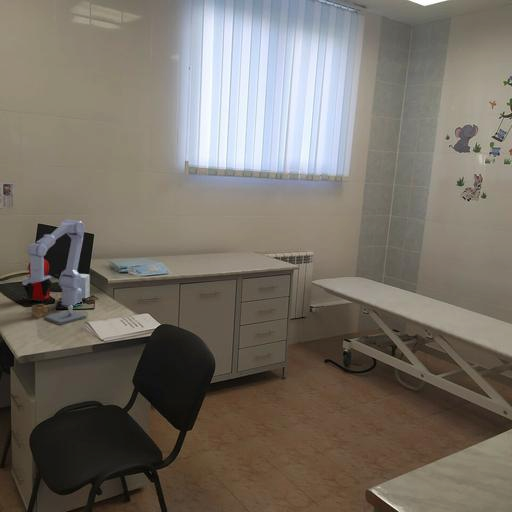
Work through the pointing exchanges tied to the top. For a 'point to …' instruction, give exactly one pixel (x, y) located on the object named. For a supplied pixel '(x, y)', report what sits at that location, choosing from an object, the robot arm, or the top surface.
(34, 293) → the water bottle
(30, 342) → the top surface
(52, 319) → the flat gray board
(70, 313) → the metal post
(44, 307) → the wooden cubby box
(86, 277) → the small box
